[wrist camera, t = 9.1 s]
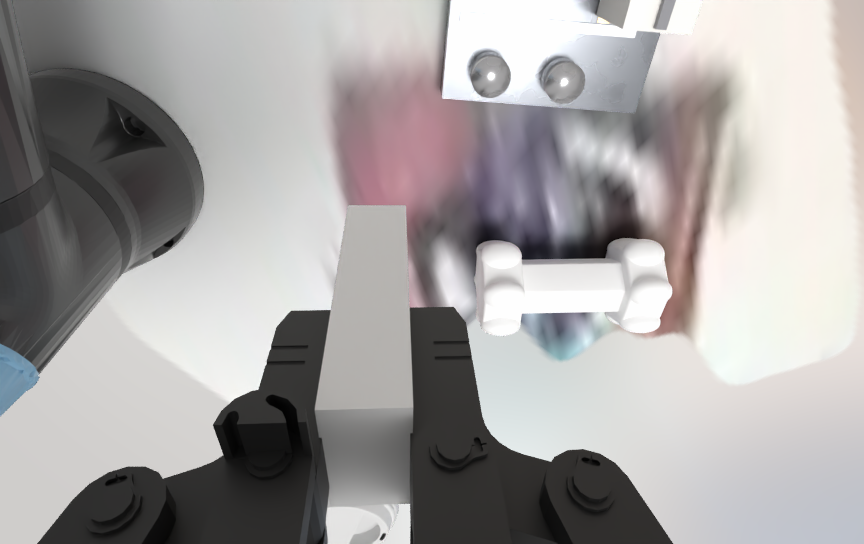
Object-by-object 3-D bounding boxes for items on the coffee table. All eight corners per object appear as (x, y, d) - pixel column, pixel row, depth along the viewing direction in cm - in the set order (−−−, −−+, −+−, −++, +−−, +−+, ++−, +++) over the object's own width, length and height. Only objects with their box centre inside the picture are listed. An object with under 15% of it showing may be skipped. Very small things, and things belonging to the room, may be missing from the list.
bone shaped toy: (471, 291, 48) (479, 356, 42) (476, 217, 42) (486, 280, 36) (624, 288, 48) (654, 353, 42) (649, 215, 43) (689, 277, 37)
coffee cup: (368, 434, 59) (355, 567, 47) (299, 400, 56) (266, 536, 43) (419, 392, 55) (420, 526, 43) (349, 353, 52) (328, 488, 39)
